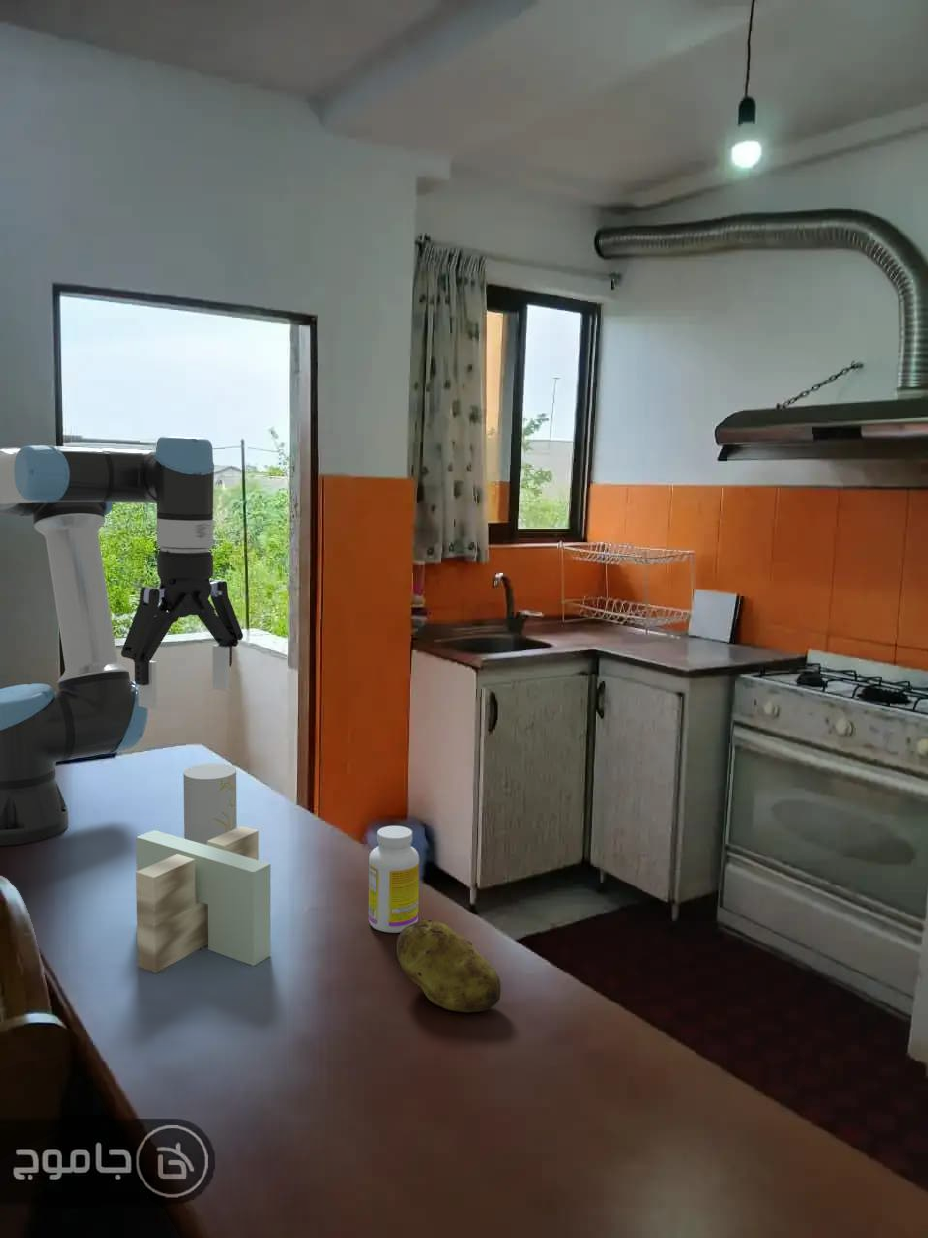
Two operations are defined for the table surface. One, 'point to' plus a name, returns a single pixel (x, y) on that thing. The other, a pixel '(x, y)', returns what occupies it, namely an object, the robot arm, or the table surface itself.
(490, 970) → the potato
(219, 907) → the sage slat
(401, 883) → the supplement bottle
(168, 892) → the notched wooden block
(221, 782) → the grey cylinder
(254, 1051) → the table surface
